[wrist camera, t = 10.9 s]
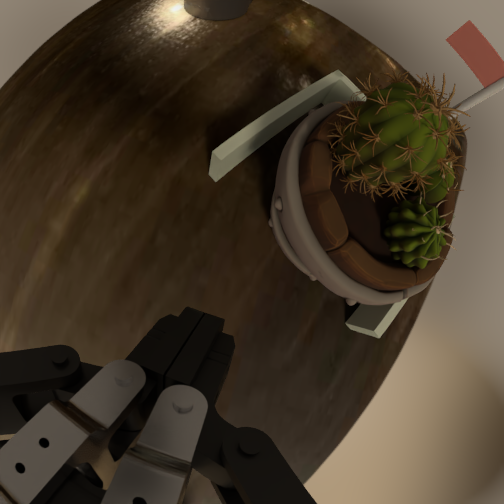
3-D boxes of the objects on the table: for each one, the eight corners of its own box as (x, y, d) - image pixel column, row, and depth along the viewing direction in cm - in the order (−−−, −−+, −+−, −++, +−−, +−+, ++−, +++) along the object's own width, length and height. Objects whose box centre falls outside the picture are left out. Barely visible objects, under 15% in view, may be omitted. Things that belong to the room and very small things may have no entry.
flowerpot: (394, 197, 29) (540, 139, 9) (348, 321, 26) (534, 363, 6) (290, 125, 27) (397, -20, 7) (218, 254, 24) (313, 169, 5)
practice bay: (350, 329, 26) (543, 378, 6) (208, 174, 24) (257, -47, 4) (426, 222, 29) (568, 186, 9) (320, 93, 28) (420, -30, 7)
